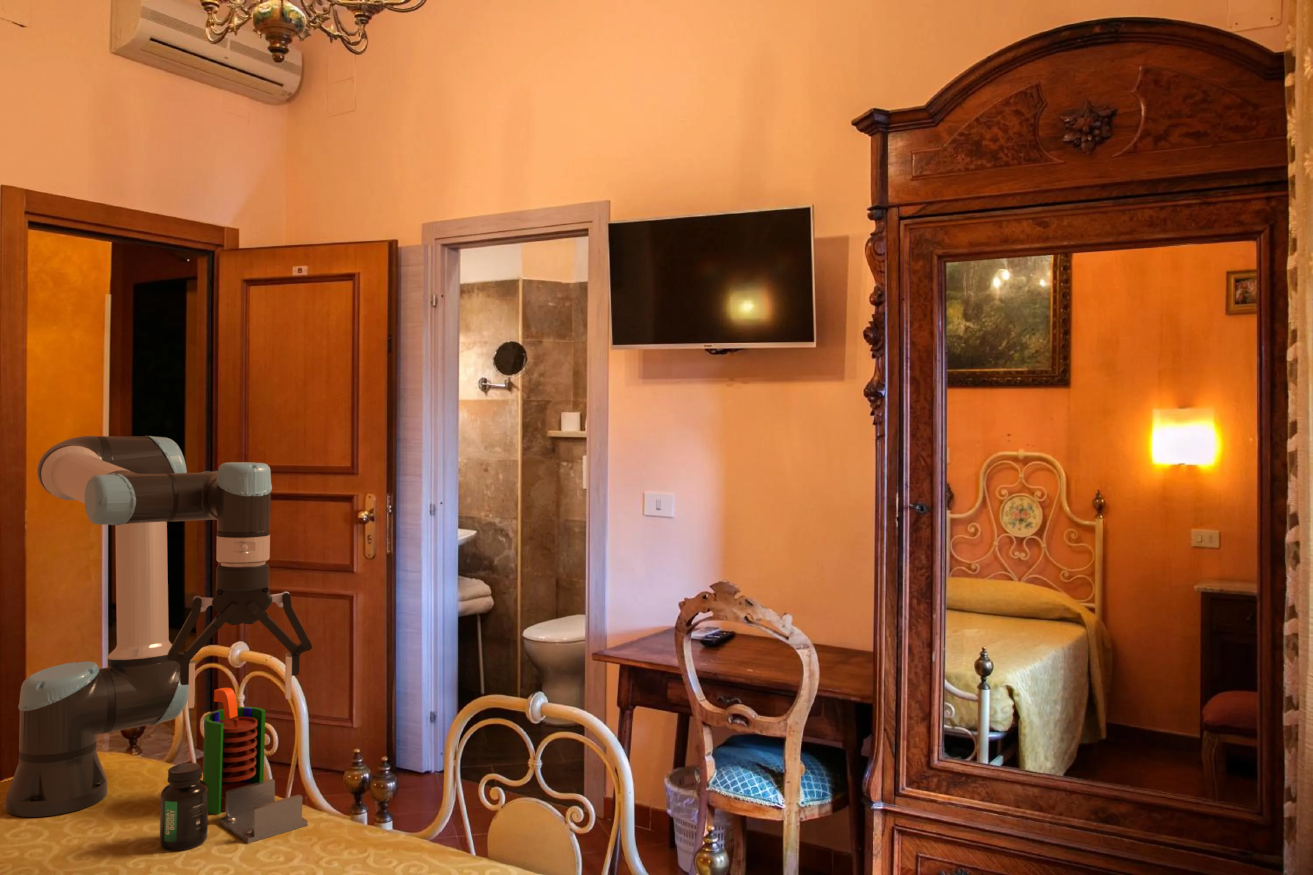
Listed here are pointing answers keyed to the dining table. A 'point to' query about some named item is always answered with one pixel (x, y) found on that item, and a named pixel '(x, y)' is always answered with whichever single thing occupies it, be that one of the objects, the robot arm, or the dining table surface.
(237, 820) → the cradle
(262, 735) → the motor
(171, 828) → the supplement bottle
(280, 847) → the dining table surface
